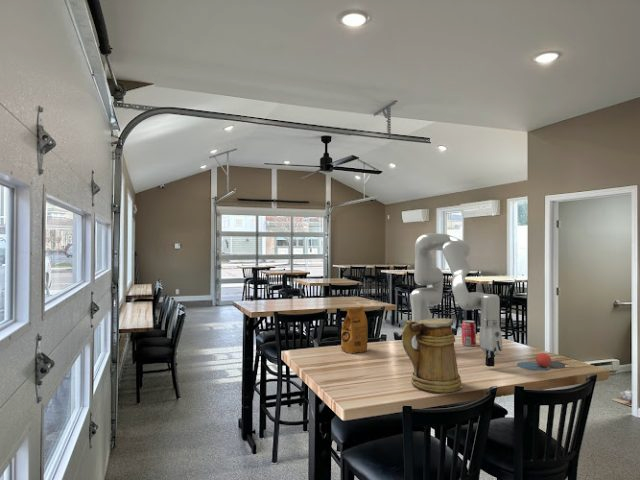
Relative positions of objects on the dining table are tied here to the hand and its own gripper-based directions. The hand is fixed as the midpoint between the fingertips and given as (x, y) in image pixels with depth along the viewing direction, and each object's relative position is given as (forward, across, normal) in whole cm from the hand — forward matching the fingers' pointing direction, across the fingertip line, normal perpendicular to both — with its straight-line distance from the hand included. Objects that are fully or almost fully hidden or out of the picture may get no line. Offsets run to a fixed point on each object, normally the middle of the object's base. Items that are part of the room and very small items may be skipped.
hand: (489, 365), depth 181 cm
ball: (-2, -2, -26) cm, 26 cm away
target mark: (+2, 0, -22) cm, 22 cm away
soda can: (+2, +42, -17) cm, 45 cm away
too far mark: (+2, 0, -34) cm, 34 cm away
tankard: (+2, -14, +36) cm, 39 cm away
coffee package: (+2, +43, +47) cm, 64 cm away
